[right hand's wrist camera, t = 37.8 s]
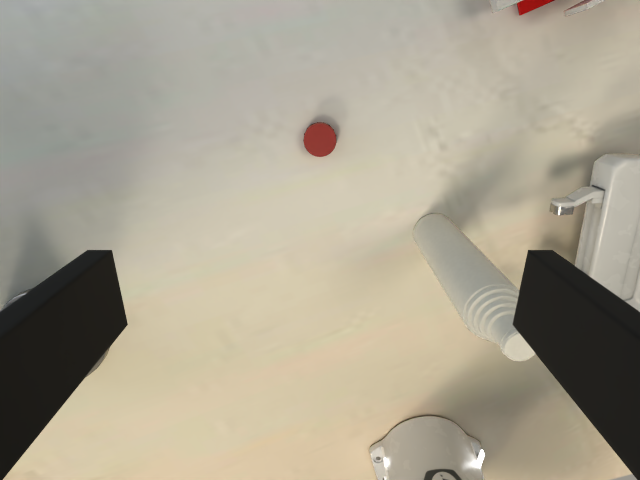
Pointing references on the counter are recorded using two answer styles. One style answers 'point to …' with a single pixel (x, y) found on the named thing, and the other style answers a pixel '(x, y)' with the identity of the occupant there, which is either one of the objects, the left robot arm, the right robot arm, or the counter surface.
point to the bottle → (472, 284)
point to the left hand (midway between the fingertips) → (546, 245)
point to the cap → (319, 139)
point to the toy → (526, 3)
